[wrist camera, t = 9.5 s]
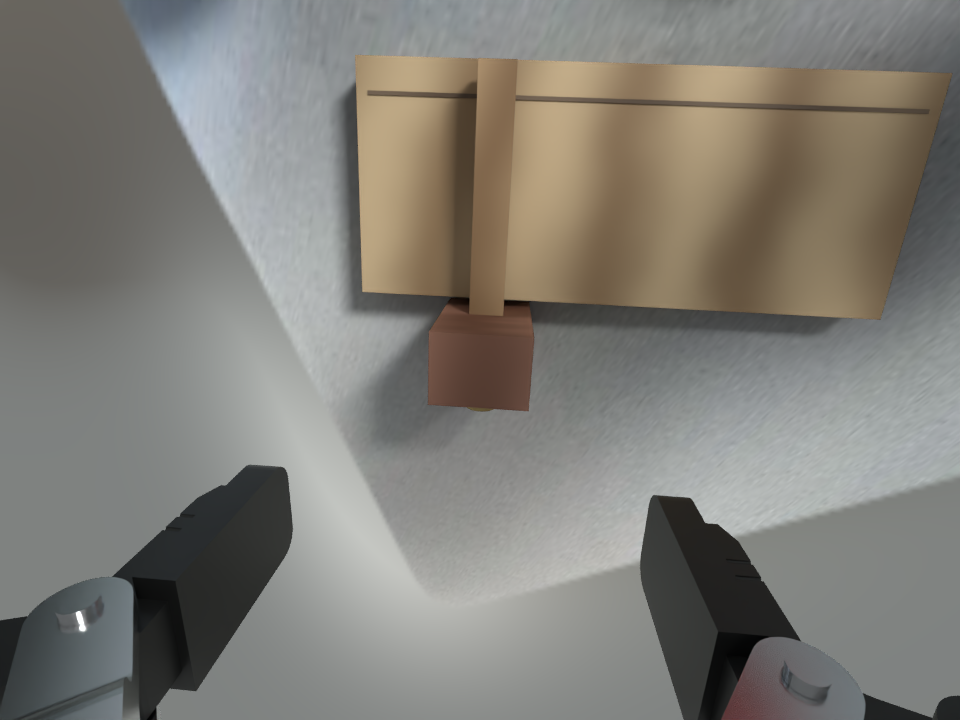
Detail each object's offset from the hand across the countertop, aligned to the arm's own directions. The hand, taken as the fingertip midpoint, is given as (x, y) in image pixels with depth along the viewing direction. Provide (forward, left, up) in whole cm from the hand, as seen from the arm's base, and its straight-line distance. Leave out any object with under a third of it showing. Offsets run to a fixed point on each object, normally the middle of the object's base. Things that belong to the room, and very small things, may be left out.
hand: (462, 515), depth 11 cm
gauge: (0, -5, -16) cm, 17 cm away
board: (-6, -7, -16) cm, 19 cm away
